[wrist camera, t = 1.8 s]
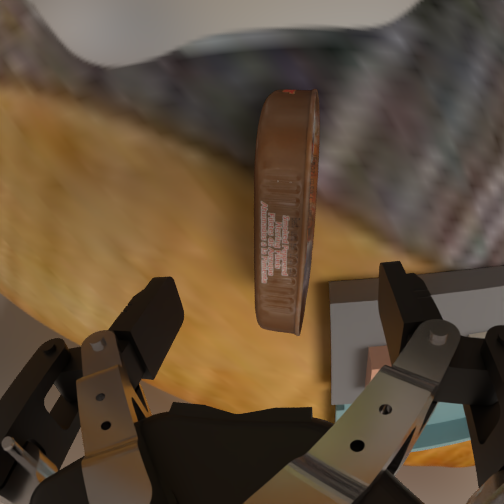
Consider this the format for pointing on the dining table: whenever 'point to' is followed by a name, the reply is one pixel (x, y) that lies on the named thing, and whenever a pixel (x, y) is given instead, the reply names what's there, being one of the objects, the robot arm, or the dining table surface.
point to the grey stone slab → (370, 327)
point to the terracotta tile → (376, 361)
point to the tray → (435, 426)
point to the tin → (285, 206)
